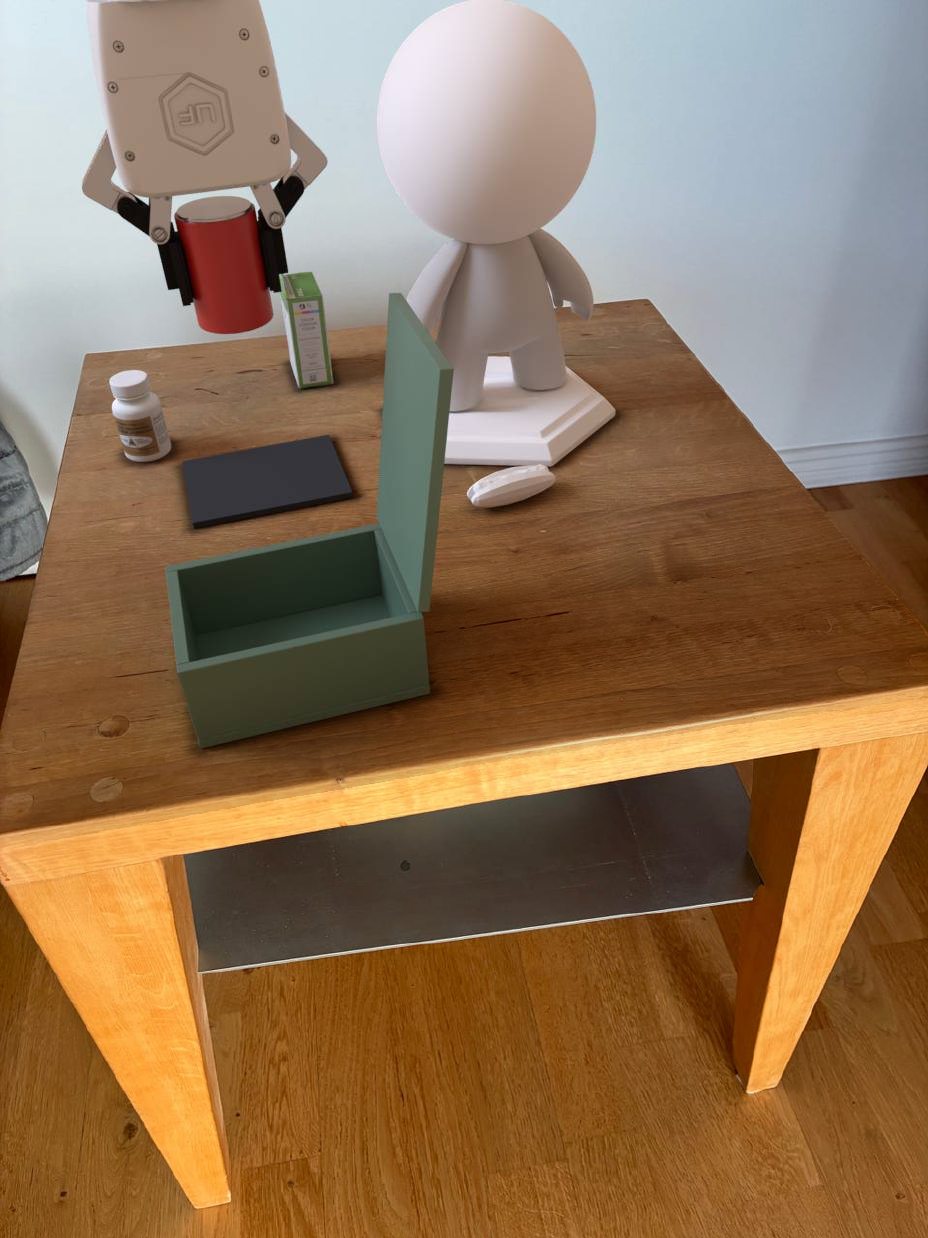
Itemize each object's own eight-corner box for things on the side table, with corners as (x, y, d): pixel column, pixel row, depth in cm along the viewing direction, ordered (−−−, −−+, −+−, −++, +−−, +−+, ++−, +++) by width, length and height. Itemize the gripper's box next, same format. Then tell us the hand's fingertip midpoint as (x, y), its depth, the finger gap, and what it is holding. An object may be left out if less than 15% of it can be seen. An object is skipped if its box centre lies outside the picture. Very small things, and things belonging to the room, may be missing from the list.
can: (201, 339, 63) (175, 224, 58) (195, 310, 66) (170, 200, 62) (278, 327, 64) (258, 213, 59) (268, 299, 67) (249, 190, 63)
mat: (193, 528, 83) (192, 522, 83) (183, 466, 91) (182, 460, 91) (353, 497, 86) (352, 491, 86) (329, 439, 94) (329, 434, 94)
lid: (439, 369, 52) (454, 368, 52) (388, 292, 61) (401, 292, 61) (417, 613, 62) (429, 611, 62) (376, 517, 70) (387, 516, 71)
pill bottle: (117, 462, 92) (95, 387, 88) (137, 439, 96) (116, 366, 91) (161, 464, 92) (140, 389, 87) (179, 441, 95) (160, 368, 90)
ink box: (335, 384, 103) (318, 258, 95) (298, 390, 103) (278, 263, 94) (325, 358, 109) (308, 235, 100) (290, 363, 108) (269, 240, 99)
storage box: (200, 749, 63) (177, 673, 59) (186, 639, 72) (164, 565, 68) (430, 693, 67) (424, 617, 62) (390, 595, 75) (382, 522, 71)
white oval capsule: (559, 495, 85) (560, 467, 83) (477, 519, 83) (475, 491, 81) (542, 478, 87) (542, 451, 86) (461, 501, 85) (460, 474, 83)
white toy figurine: (536, 350, 108) (540, -26, 86) (646, 441, 92) (685, 7, 69) (367, 388, 102) (323, -3, 80) (451, 493, 86) (425, 38, 64)
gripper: (-8, -19, 48) (97, 334, 59) (333, -47, 51) (369, 293, 63) (3, -35, 53) (97, 290, 65) (310, -60, 57) (347, 254, 68)
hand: (230, 288), depth 64 cm, fingers closed on can, 5 cm apart
